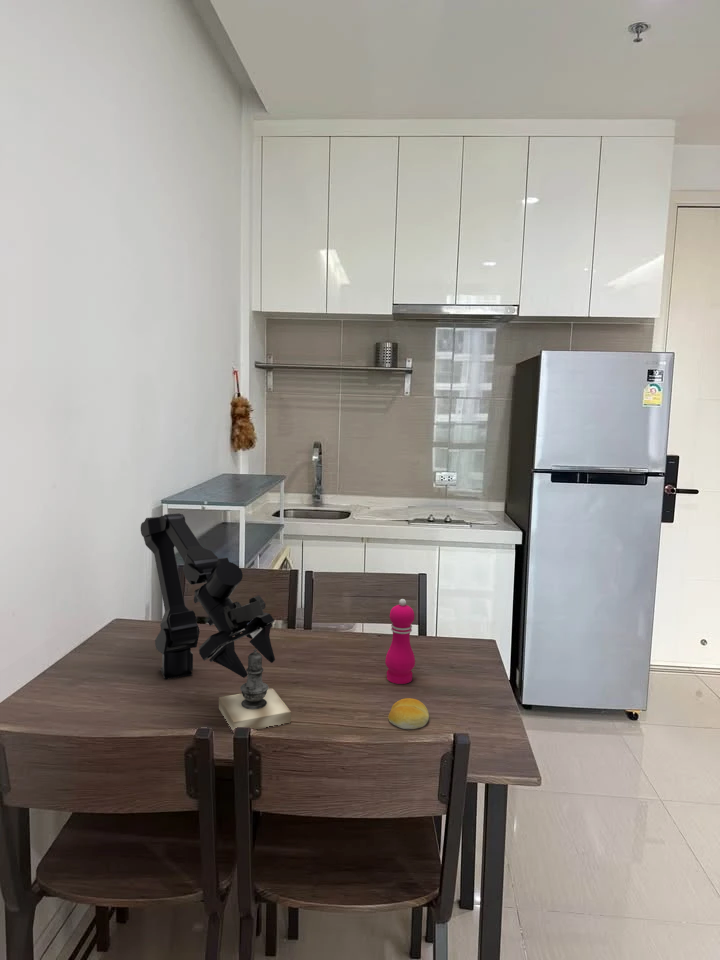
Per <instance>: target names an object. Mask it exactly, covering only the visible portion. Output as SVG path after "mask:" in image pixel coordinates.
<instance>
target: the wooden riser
mask: <svg viewBox="0 0 720 960" xmlns="http://www.w3.org/2000/svg"><path fill="white" fill-rule="evenodd" d="M263 699H264V700H266V702H267V704H266V706H265V707H263V708H260V709H246V708H244V707H243V706H242V704H241V703H242V701H243V700H245V698H244V697H243V695H242V692H241V693H236V694H231V695H230V694H229V695H225V696H220V697H218V710H219V711H220V713H221V715H222V716H224V717H223V719H224V720H225V719H226V720H225V722H226V721H227V722H226V723H228V724H229V725H228V724H227V725H228V727H229V726H230V727H231V729H232V730H234V729H235V728H237V727H250V728H254V729H258V730H262V729H266V727H268V728H270V727H269V726H273V727H275V726H274V725H278V726H282V725H281V724H283V725H285V724H284V723H289V724H291V723H290V722H292V711H291V710H290V708H288V706H287V705H286V704H285V702H284V701H283V700H282V697H280V696H279V694H278V693H277V692H276V690H275V689H274V688H268V690H267V693H266V695H265V697H264V698H263ZM230 727H229V728H230ZM231 729H230V730H231Z"/></svg>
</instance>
